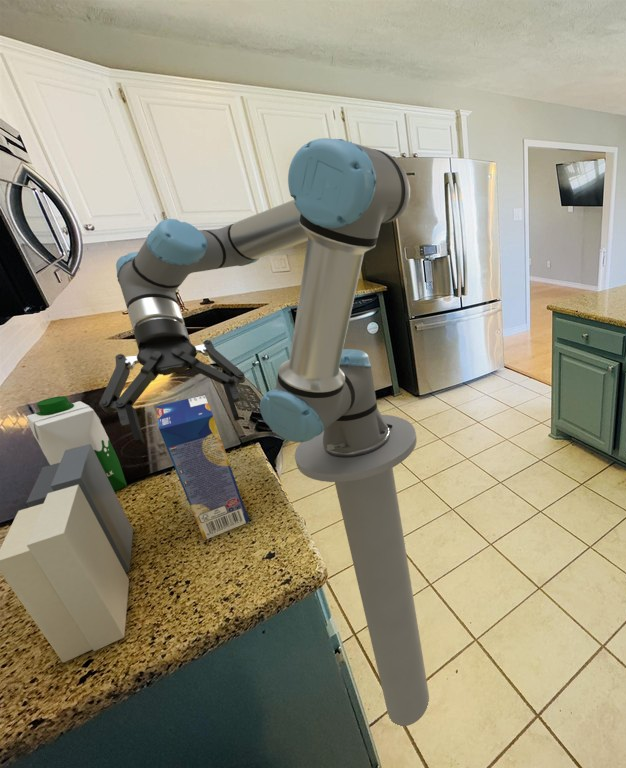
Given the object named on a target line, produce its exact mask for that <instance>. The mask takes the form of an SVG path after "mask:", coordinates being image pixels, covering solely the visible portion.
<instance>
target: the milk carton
mask: <svg viewBox="0 0 626 768" xmlns="http://www.w3.org/2000/svg"><path fill="white" fill-rule="evenodd" d="M36 406H37V409H38V410H39V411H37V412H35V413H32V414H28V415H26V419H27V422H28V425H29V428H30V430H31V432H32V434H33V436H34V438H35V440H36V441H37V443H38V446H39V447H40V450H41V451H42V453H43V455H44V457H45V458H46V461H47V462H48V464H49V465H53V464H56V463H60V462H61V459H62V457H63V455H64V452H65V450H68V449H72V448H76V447H80V446H84V445H88V444H91V445H92V447H93V449H94V451H95V453H96V455H97V457H98V459H99V462H100V464H101V466H102V468H103V470H104V472H105V474H106V476H107V478H108V480H109V482H110V484H111V486H112V488H113V490H114V492H116V491H119V490H122V489H124V488H126V487H128V485H127V480H126V478H125V475H124V472H123V470H122V466H121V462H120V460H119V457H118V456H117V453H116V451H115V449H114V446H113V445H112V443H111V441H110V438H109V436H108V434H107V433H106V429H105V427H104V426H103V424H102V422H101V418H100V417H99V415H97V413H96V412H95V409H93V408H92V407H91V406H90V405H88V404H86V403H84V402H83V401H81V400H79V401H75V402H71V403H70V401H69V399H68V397H67V396H66V395H65V396H64V395H60V396H54V397H49V398H45V399H43V400H40V401H38V402H37V403H36Z"/></svg>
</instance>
